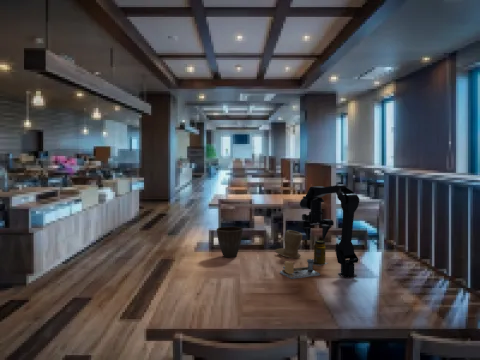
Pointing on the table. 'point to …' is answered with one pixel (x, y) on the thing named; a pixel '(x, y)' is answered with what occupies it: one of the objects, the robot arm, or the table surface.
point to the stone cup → (291, 244)
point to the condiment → (319, 253)
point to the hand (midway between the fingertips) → (316, 239)
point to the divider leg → (289, 267)
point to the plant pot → (229, 240)
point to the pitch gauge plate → (302, 271)
